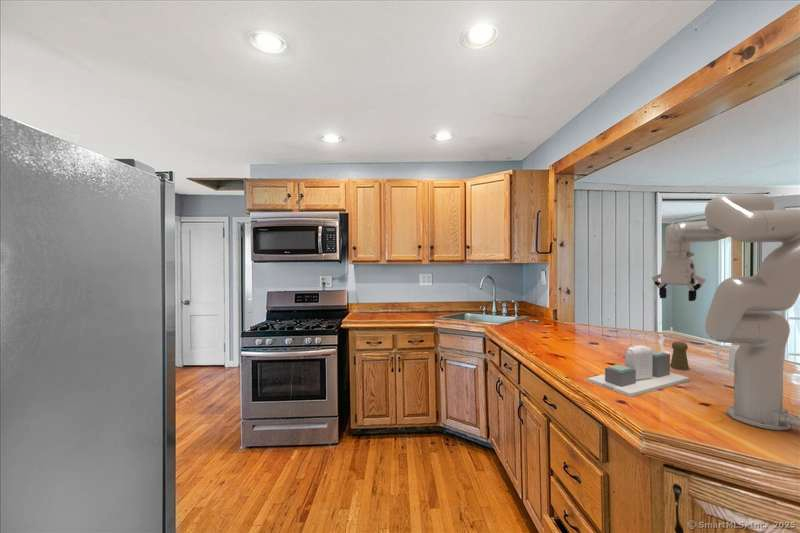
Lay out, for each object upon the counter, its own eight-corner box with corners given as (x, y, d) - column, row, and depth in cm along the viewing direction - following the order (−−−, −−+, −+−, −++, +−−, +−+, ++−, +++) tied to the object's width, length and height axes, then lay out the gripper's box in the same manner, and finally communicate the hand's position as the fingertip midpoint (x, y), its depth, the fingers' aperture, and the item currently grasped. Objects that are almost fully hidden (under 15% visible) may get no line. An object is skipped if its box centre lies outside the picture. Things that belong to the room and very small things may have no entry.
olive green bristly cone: (687, 367, 141) (687, 341, 141) (690, 371, 136) (690, 344, 136) (669, 364, 144) (669, 339, 144) (671, 368, 139) (671, 342, 139)
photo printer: (643, 374, 129) (643, 343, 129) (654, 378, 125) (654, 346, 125) (622, 377, 126) (623, 345, 126) (633, 381, 122) (633, 348, 122)
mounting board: (689, 380, 126) (689, 355, 125) (630, 397, 112) (630, 368, 111) (644, 368, 140) (644, 345, 140) (587, 381, 126) (587, 356, 126)
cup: (716, 365, 143) (717, 342, 142) (757, 372, 134) (758, 347, 134) (715, 370, 137) (716, 346, 137) (758, 377, 128) (758, 351, 128)
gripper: (710, 255, 123) (709, 301, 124) (658, 256, 139) (658, 296, 139) (699, 255, 120) (698, 302, 121) (647, 256, 136) (647, 297, 136)
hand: (677, 299), depth 130 cm, fingers open, 9 cm apart
